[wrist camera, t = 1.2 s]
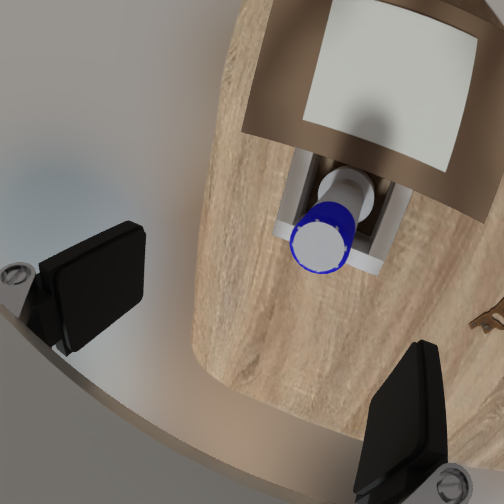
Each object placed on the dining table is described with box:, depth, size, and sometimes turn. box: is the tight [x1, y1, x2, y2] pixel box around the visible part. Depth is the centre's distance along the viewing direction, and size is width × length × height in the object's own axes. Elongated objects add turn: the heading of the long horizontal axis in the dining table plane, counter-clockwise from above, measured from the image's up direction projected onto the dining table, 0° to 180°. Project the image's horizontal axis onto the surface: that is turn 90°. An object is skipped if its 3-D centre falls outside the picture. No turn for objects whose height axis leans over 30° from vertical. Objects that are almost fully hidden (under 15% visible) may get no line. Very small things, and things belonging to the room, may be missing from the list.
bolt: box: [290, 166, 375, 274], centre depth 22 cm, size 16×5×5 cm
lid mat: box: [303, 0, 478, 172], centre depth 16 cm, size 10×10×1 cm
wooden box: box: [241, 0, 504, 276], centre depth 21 cm, size 18×22×9 cm
